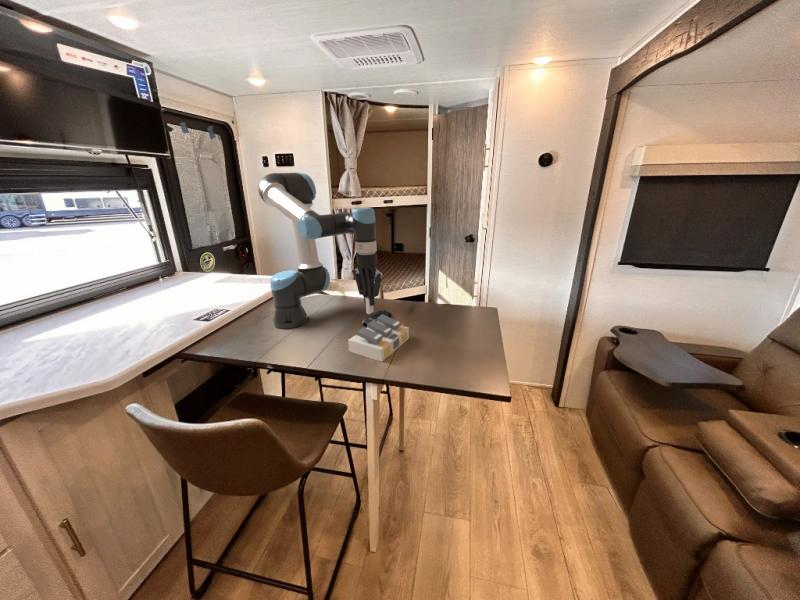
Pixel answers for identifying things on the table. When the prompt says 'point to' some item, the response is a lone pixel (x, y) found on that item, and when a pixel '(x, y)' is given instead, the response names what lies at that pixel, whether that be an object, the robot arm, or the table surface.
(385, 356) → the switch unit
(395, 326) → the block
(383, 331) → the block
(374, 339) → the rocker
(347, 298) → the table surface
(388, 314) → the electronic device
